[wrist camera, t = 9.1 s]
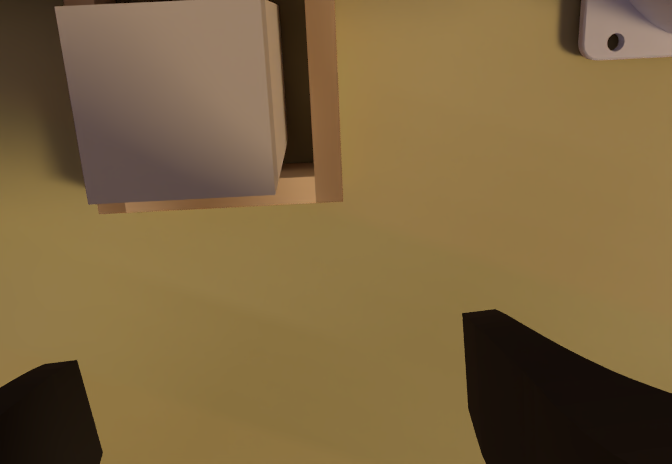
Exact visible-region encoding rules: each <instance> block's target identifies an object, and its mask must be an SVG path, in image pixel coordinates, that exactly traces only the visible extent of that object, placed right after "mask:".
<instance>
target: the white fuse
mask: <svg viewBox="0 0 672 464" xmlns="http://www.w3.org/2000/svg"><path fill="white" fill-rule="evenodd" d="M54 7H55V13H56V19H57V25H58V30H59V36H60V42H61V48H62V54H63V59H64V65H65V71H66V77H67V83H68V89H69V94H70V100H71V106H72V112H73V118H74V124H75V129H76V135H77V141H78V147H79V153H80V159H81V164H82V170H83V176H84V182H85V188H86V194H87V199H88V204H108V203H127V202H147V201H166V200H186V199H206V198H225V197H245V196H264V195H275V194H276V190H277V186H278V181H279V177H280V172H281V168H282V163H283V159H284V155H285V150H286V146H287V141H288V129H287V114H286V100H285V85H284V70H283V56H282V41H281V26H280V12H279V5H277V4H275V3H272V2H270V1H268V0H184V1H163V2H141V3H119V4H98V5H76V6H54Z"/></svg>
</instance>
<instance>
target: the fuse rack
mask: <svg viewBox="0 0 672 464" xmlns="http://www.w3.org/2000/svg"><path fill="white" fill-rule="evenodd" d="M63 2H64V6H76V5H98V4H116V0H63ZM305 16H306V34H307V51H308V69H309V86H310V104H311V122H312V139H313V157H314V162H310V163H290V164H282V168H281V172H280V177H279V181H278V186H277V190H276V194H275V195H264V196H245V197H225V198H206V199H186V200H166V201H147V202H127V203H108V204H97V205H98V211H99V214H111V213H130V212H149V211H169V210H188V209H207V208H227V207H246V206H265V205H285V204H304V203H323V202H343V188H342V165H341V141H340V118H339V95H338V72H337V49H336V25H335V2H334V0H305Z"/></svg>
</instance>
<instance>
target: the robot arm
mask: <svg viewBox="0 0 672 464" xmlns="http://www.w3.org/2000/svg"><path fill="white" fill-rule="evenodd" d="M612 34H616V35H617V36H618V39H619V43H618V46H617V47H616V48H615V49H614V50H610V49H609V48H608V46H607V41H608V38H609V37H610V36H611V35H612ZM578 46H579V51H580V53H581V54H582V56H584V57H585V58H587V59H592V60H614V59H635V58H655V57H672V0H581V10H580V25H579V39H578ZM462 316H463V332H464V348H465V363H466V379H467V395H468V409H469V413H470V416H471V419H472V423H473V426H474V430H475V433H476V437H477V440H478V443H479V446H480V449H481V453H482V456H483V458H484V460H485V462H486V464H672V393H669V392H666V391H663V390H660V389H657V388H655V387H652V386H649V385H647V384H644V383H641V382H638V381H636V380H633V379H630V378H628V377H625V376H623V375H621V374H618V373H616V372H614V371H611V370H609V369H607V368H605V367H603V366H601V365H598V364H596V363H594V362H592V361H590V360H588V359H586V358H584V357H582V356H580V355H578V354H576V353H574V352H572V351H570V350H568V349H566V348H564V347H562V346H560V345H559V344H557V343H555V342H553V341H551V340H550V339H548V338H546V337H544V336H542V335H541V334H539V333H537V332H535V331H534V330H532V329H530V328H529V327H527V326H525V325H523V324H522V323H520V322H518V321H517V320H515V319H513V318H511V317H510V316H508V315H506V314H504V313H502V312H500V311H498V310H496V309H493V310H485V311H477V312H469V313H462ZM102 454H103V452H102V448H101V444H100V441H99V437H98V434H97V430H96V426H95V423H94V419H93V416H92V412H91V408H90V405H89V401H88V398H87V394H86V391H85V387H84V383H83V380H82V376H81V373H80V369H79V365H78V362H77V360H74V361H66V362H58V363H49V364H44V365H41V366H39V367H37V368H35V369H33V370H31V371H29V372H27V373H25V374H23V375H21V376H19V377H18V378H16V379H14V380H12V381H11V382H9V383H7V384H6V385H4V386H2V387H1V388H0V464H100V461H101V457H102Z"/></svg>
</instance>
